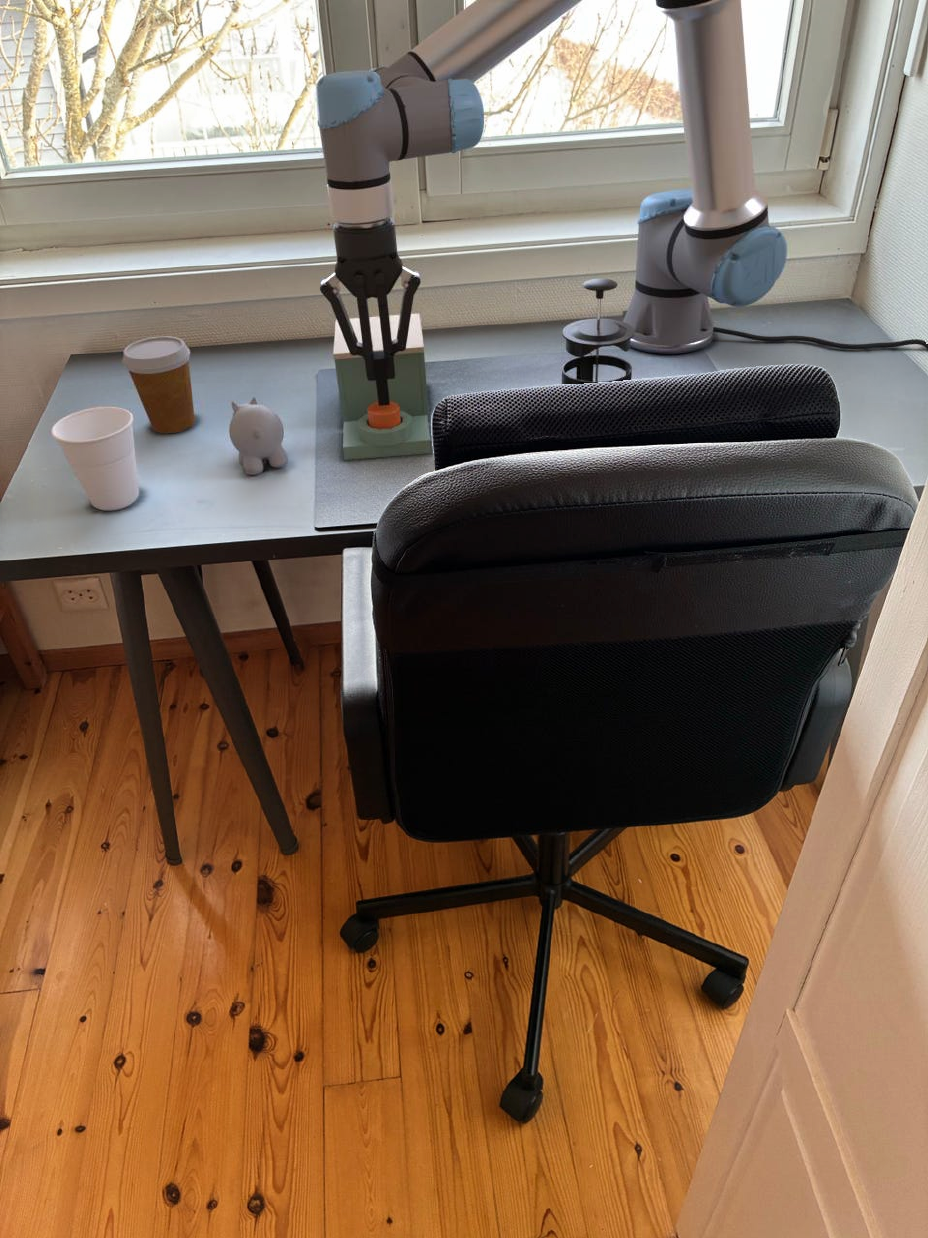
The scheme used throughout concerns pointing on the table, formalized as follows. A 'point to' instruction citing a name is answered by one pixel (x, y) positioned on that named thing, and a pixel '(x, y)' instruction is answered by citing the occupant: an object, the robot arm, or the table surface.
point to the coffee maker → (402, 389)
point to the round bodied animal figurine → (257, 436)
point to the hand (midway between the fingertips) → (384, 400)
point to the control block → (386, 438)
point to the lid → (380, 336)
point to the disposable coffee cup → (162, 381)
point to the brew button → (384, 415)
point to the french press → (596, 341)
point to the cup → (101, 454)
